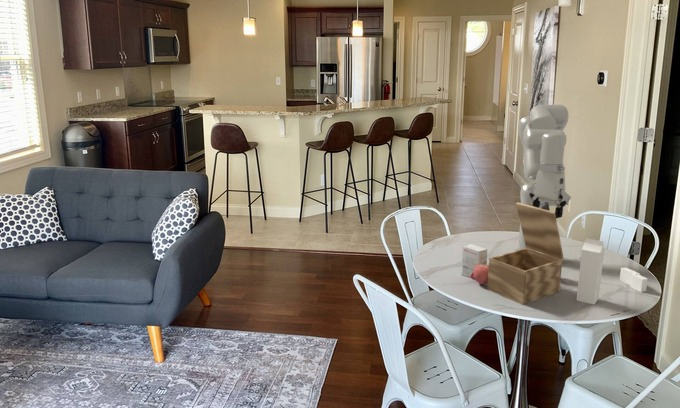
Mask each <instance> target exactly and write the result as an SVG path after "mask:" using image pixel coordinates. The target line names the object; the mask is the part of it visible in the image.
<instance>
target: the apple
mask: <svg viewBox="0 0 680 408" xmlns="http://www.w3.org/2000/svg"><path fill="white" fill-rule="evenodd" d="M488 269H489V264H487V265H484V264H481V265H477V266H476V267H475V268H474V271H473V273H474V278H475V279H474V280H475V281H476V282H477V284H480V285H488Z"/></svg>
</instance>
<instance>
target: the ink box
mask: <svg viewBox="0 0 680 408" xmlns="http://www.w3.org/2000/svg"><path fill="white" fill-rule="evenodd" d="M461 260H462V261H461V262H462V265H461V268H462V269H461V275H463V276H465V277H468V278H470V279H474V280H475V278H474V273H473V271H474V268H475V267H476V266H477V265H481V264H484V265H488V249H487V248H484V247H481V246H479V245H475V244H473V243H469V244H467V245H463V246H462V259H461Z"/></svg>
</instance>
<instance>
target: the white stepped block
mask: <svg viewBox="0 0 680 408" xmlns="http://www.w3.org/2000/svg"><path fill="white" fill-rule="evenodd" d="M648 280H649V279H648V278H647V277H645V276H644V275H643V276H642V275H641V273H639V272H638V271H635V270H633V269H631V268H628V267H621V268H620V274H619V281H621V282H623V283H625V284H627V285H629V286H630V288H632V289H634V290H636V291H638V292H640V293H643V292H646V291H647V287H648Z"/></svg>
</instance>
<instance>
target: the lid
mask: <svg viewBox="0 0 680 408" xmlns="http://www.w3.org/2000/svg"><path fill="white" fill-rule="evenodd" d="M515 205H516V209H517V214H518V218H519V222H520V223H521V228H522V232H523V237H524V241H525V246H526V248H528V249H531V250H534V251H537V252H540V253H543V254H546V255H549V256H552V257H554V258H557V259H560V260H562V261H563V260H564V254H563V253H564V252H563V248H562V241H561V236H560V232H559V225H558V222H557V221H558V220H557V218H556V215H555V211H552V210H550V206H549V204H548V202H545V203H544V204H542V205H541V206H540V207H539V208H537V207H533V206H529V205H526V204H522V203H521V202H516V203H515ZM520 223H519V224H520Z"/></svg>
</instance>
